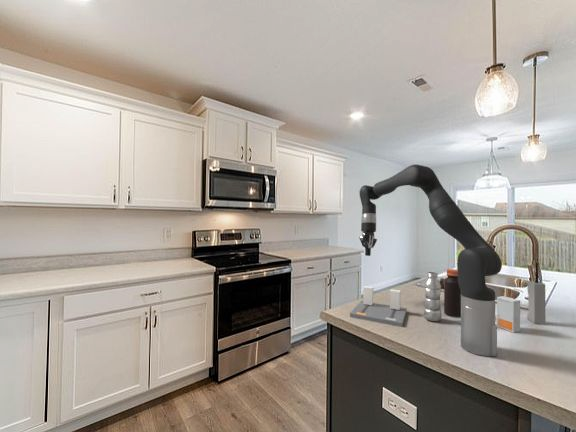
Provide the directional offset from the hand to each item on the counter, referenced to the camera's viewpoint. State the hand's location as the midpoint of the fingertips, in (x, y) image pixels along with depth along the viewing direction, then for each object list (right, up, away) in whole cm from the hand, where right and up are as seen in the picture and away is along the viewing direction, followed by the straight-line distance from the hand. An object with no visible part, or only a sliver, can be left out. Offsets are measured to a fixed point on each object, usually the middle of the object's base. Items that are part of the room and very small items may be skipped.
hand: (367, 255), depth 136 cm
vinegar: (+33, -24, -18) cm, 44 cm away
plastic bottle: (+20, -24, -25) cm, 40 cm away
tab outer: (-3, -22, -10) cm, 24 cm away
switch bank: (-1, -23, -18) cm, 30 cm away
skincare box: (+45, -24, -33) cm, 61 cm away
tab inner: (+8, -22, -16) cm, 28 cm away
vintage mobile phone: (+63, -24, -26) cm, 72 cm away
